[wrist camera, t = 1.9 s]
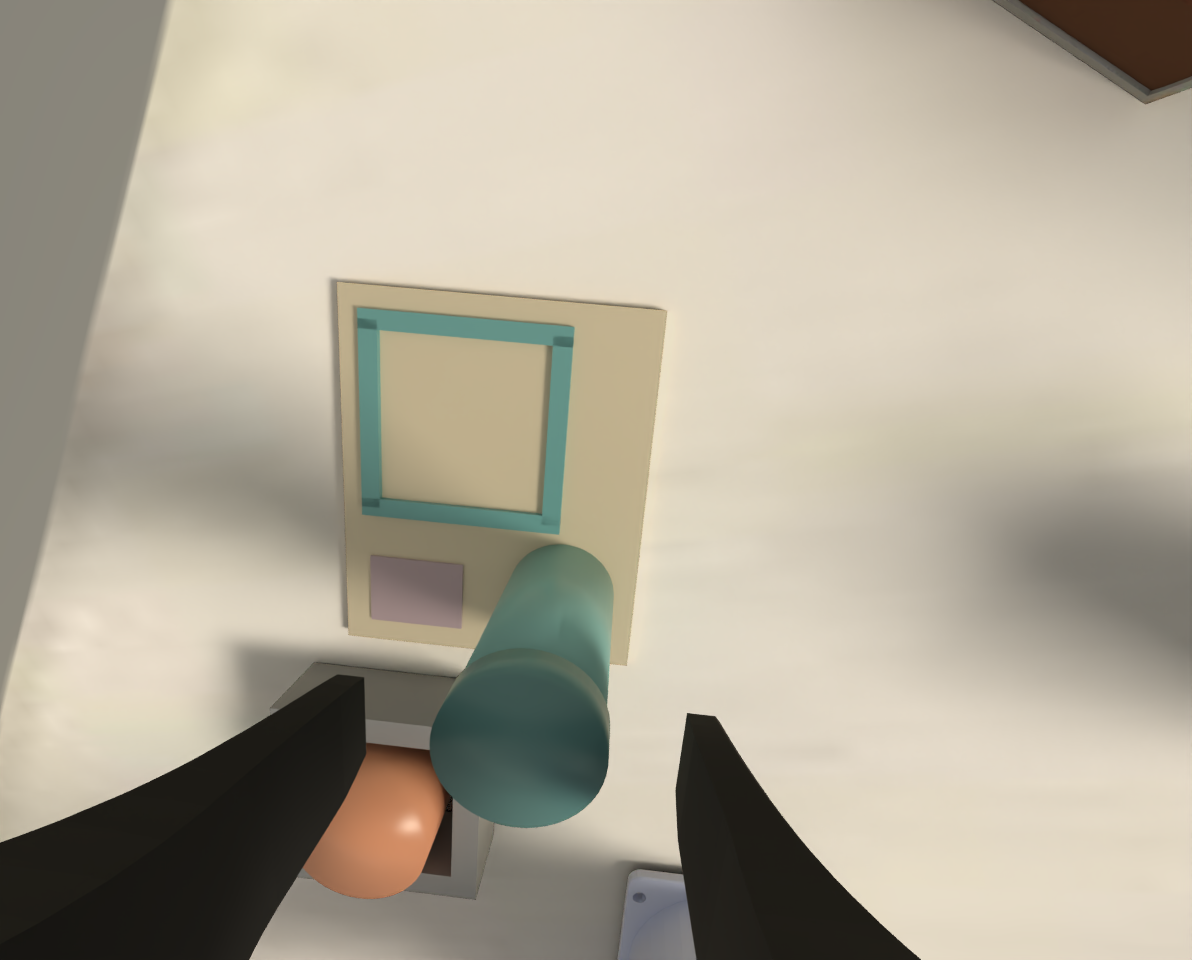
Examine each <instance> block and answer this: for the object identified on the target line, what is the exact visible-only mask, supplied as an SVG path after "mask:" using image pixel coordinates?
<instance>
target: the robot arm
mask: <svg viewBox="0 0 1192 960" xmlns="http://www.w3.org/2000/svg"><path fill="white" fill-rule="evenodd" d="M365 756H366V721H365V686H364V677H358V676H349V675H340V674H337V675H335V676H334V677H332V678H330V679H328V680H327V681H325V682H323V683H322V684H320V685H318V686H317V687H315V688H313V689H312V690H310V691H309V692H307V693H305V694H304V695H302V696H301V697H299V698H297V699H296V700H294V701H293V702H291V703H289V704H288V705H286V706H285V707H283V708H281V709H280V710H278V711H276V712H275V713H273V714H272V715H270V716H268V717H267V718H265V719H263V720H262V721H260V722H258V723H257V724H255V725H254V726H252V727H250V728H249V729H247V730H245V731H243V732H242V733H240V734H238V735H236V736H235V737H233V738H231V739H229V740H227V741H226V742H224V743H222V744H220V745H219V746H217V747H215V748H213V749H212V750H210V751H208V752H206V753H204V754H203V755H201V756H199V757H197V758H195V759H194V760H192V761H190V762H188V763H186V764H184V765H182V766H180V767H178V768H176V769H174V770H172V771H170V772H168V773H166V774H164V775H162V776H160V777H158V778H156V779H154V780H152V781H150V782H148V783H146V784H143V785H141V786H139V787H137V788H135V789H133V790H131V791H128V792H126V793H124V794H122V795H120V796H117V797H115V798H112V799H110V800H108V801H105V802H103V803H100V804H98V805H96V806H93V807H91V808H89V809H86V810H84V811H81V812H79V813H77V814H74V815H72V816H70V817H67V818H65V819H62V820H60V821H57V822H55V823H52V824H50V825H47V826H44V827H42V828H39V829H36V830H34V831H31V832H28V833H26V834H23V835H20V836H18V837H15V838H12V839H9V840H6V841H4V842H1V843H0V960H249V959H250V957H251V955H252V953H253V951H254V949H255V947H256V945H257V943H258V941H259V939H260V937H261V936H262V934H263V932H264V930H265V928H266V927H267V925H268V923H269V922H270V920H271V918H272V916H273V915H274V913H275V911H276V910H277V908H278V906H279V905H280V903H281V901H282V900H283V898H284V897H285V895H286V893H287V892H288V890H289V889H290V887H291V885H292V884H293V882H294V881H295V879H296V878H297V876H298V874H299V873H300V871H301V870H302V868H303V866H304V865H305V863H306V862H307V860H308V858H309V857H310V855H311V854H312V852H313V850H314V849H315V847H316V846H317V844H318V843H319V841H320V839H321V838H322V836H323V835H324V833H325V831H326V830H327V828H328V826H329V825H330V823H331V822H332V820H333V818H334V817H335V815H336V813H337V812H338V810H339V809H340V807H341V805H342V804H343V802H344V800H345V798H346V796H347V794H348V792H349V790H350V788H351V786H352V784H353V782H354V780H355V778H356V776H357V773H358V771H359V769H360V767H361V765H362V762H363V760H364V758H365ZM676 812H677V831H678V843H679V850H680V857H681V864H682V870H683V874H675V873H667V872H659V871H651V870H643V869H637V870H634V871H632V872H631V873H630V874H629V876H628V881H627V888H626V896H625V904H624V912H623V919H622V927H621V935H620V943H619V950H618V958H617V960H921V959H920V958H919V957H917V956H916V955H915V954H914V953H913V952H912V951H910V950H909V949H908V948H907V947H906V946H905V945H903V944H902V943H901V942H900V941H899V940H898V939H897V938H896V937H895V936H894V935H892V934H891V933H890V932H889V931H888V930H887V929H886V928H885V927H884V926H883V925H881V924H880V923H879V922H878V921H877V920H876V919H875V918H874V917H873V916H872V915H871V914H870V913H869V912H868V911H867V910H866V909H865V908H864V907H863V906H862V905H861V904H860V903H859V902H858V901H857V900H856V899H855V898H854V897H853V896H852V895H851V894H850V893H849V892H848V891H847V890H846V889H845V888H844V887H843V886H842V885H841V884H840V883H839V882H838V881H837V880H836V879H835V878H834V877H833V876H832V875H831V873H830V872H829V871H828V870H827V869H826V868H825V867H824V866H823V865H822V863H821V862H820V861H819V860H818V859H817V858H816V857H815V856H814V855H813V853H812V852H811V851H810V850H809V849H808V848H807V846H806V845H805V844H804V843H803V842H802V840H801V839H800V838H799V837H798V835H797V834H796V833H795V832H794V830H793V829H792V828H791V827H790V825H789V824H788V823H787V821H786V820H785V819H784V818H783V816H782V815H781V814H780V812H779V811H778V810H777V808H776V807H775V806H774V804H773V803H772V802H771V800H770V799H769V797H768V796H767V795H766V793H765V792H764V790H763V789H762V787H761V786H760V785H759V783H758V782H757V780H756V779H755V777H754V776H753V774H752V773H751V771H750V770H749V768H748V767H747V765H746V764H745V762H744V761H743V759H742V758H741V756H740V755H739V753H738V751H737V750H736V748H735V747H734V745H733V743H732V742H731V740H730V739H729V737H728V735H727V734H726V732H725V730H724V729H723V727H722V725H721V724H720V722H719V721H718V719H717V718H716V717H715V716H708V715H699V714H690V713H687V718H686V724H685V731H684V738H683V744H682V751H681V757H680V764H679V771H678V777H677V784H676Z"/></svg>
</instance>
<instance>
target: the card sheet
mask: <svg viewBox="0 0 1192 960" xmlns="http://www.w3.org/2000/svg"><path fill="white" fill-rule="evenodd" d="M337 299H338V330H339V360H340V390H341V420H342V450H343V481H344V511H345V541H346V571H347V601H348V631H349V635H352V636H361V637H370V638H379V639H388V640H397V641H406V642H415V643H424V644H434V645H443V646H452V647H461V648H470V649H475V648H476V646H477V644H478V642H479V640H480V638H481V636H482V634H483V632H484V630H485V628H486V626H487V624H488V622H489V620H490V618H491V616H492V614H493V611H494V609H495V607H496V605H497V603H498V601H499V599H500V597H501V595H502V593H503V591H504V589H505V587H506V585H507V583H508V581H509V579H510V577H511V575H512V573H513V571H514V569H515V568H516V566H517V564H518V563H519V562H520V561H521V560H522V559H523V558H524V557H525V556H526V555H527V554H529V553H530V552H532V551H534V550H536V549H538V548H541V547H544V546H548V545H556V544H562V545H570V546H574V547H578V548H580V549H583V550H585V551H587V552H588V553H590V554H592V555H593V556H594V557H596V558H597V559H598V560H599V561H600V562H601V563H602V564H603V566H604V567H605V568H606V570H607V572H608V573H609V576H610V578H611V581H612V584H613V591H614V600H613V617H612V633H611V649H610V664H615V665H624V666H627V659H628V650H629V641H630V633H631V624H632V615H633V606H634V597H635V589H636V580H637V571H638V562H639V554H640V545H641V536H642V527H643V519H644V510H645V501H646V492H647V484H648V475H649V466H650V457H651V449H652V440H653V431H654V422H655V414H656V405H657V396H658V387H659V378H660V370H661V361H662V352H663V343H664V335H665V326H666V317H667V311H666V310H654V309H643V308H631V307H620V306H608V305H597V304H585V303H574V302H562V301H551V300H540V299H528V298H517V297H505V296H494V295H482V294H471V293H459V292H448V291H436V290H425V289H413V288H402V287H390V286H379V285H367V284H356V283H345V282H337Z"/></svg>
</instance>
